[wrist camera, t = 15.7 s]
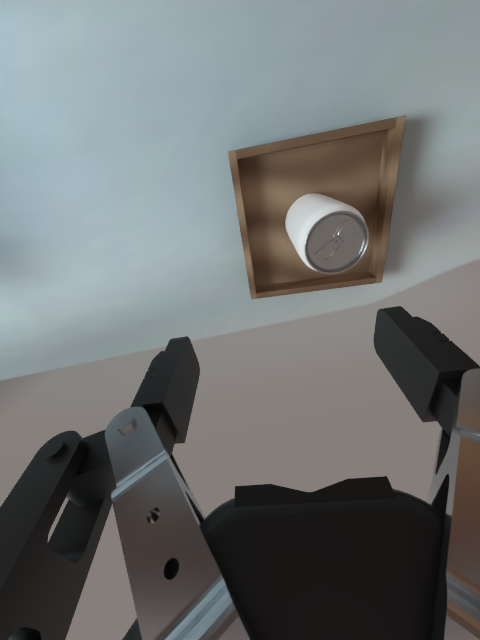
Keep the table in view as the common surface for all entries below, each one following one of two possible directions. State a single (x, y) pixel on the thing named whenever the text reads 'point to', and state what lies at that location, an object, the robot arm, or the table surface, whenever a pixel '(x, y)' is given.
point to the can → (326, 233)
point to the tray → (323, 178)
